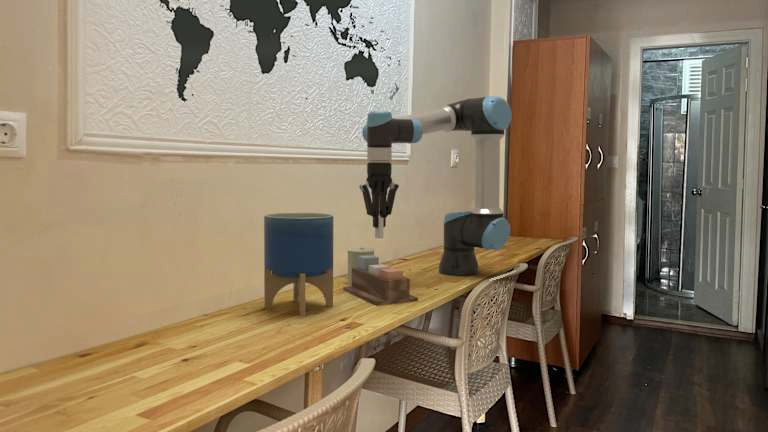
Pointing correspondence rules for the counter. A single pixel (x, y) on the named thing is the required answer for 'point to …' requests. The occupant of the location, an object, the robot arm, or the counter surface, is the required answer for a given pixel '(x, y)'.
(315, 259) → the planter
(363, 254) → the can
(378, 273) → the key white
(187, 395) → the counter surface
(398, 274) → the key terracotta
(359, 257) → the grey square block
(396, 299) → the brown block holder tray
